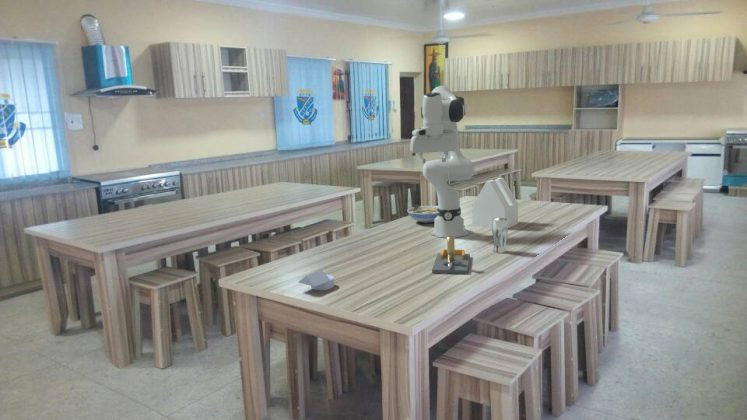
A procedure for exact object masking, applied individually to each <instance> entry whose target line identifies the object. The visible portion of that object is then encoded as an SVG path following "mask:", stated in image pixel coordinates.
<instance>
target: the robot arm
mask: <svg viewBox="0 0 747 420" xmlns="http://www.w3.org/2000/svg"><path fill="white" fill-rule="evenodd" d="M467 109H468V105H467V102H466V99H465V98H464V97H463V96H458V95H456V94H454V93H452V91H451V89H450V88H449V87H448V86H446V85H439V86H436V87H435V88H433V90H432V91H431V92H426V93H425V94H423V98H422V105H421V107H420V116H421V119H423V121H422V126H421V127H420V128H417V129H413V130H412V131H411V134H412V137H411V139H410V142H409V143H410V145H409V147H410V148H409V150H410V152H411V153H412V154H418V158H419V159H421V160H420V163H421V164H423V166H422V175H423V178H424V179H425V180H426V181H428V182H429V183H430V184H431V185H432V186H433V187H434V189H435V192H436V197H437V206H438V208H437V215H438V216H437V217H436V218H435V221H434V230H433V231H431V233H430V235H432V236H436V237H437V238H438V237H439V238H446V239H447V237H448V236H453V237H454V238H459V237H463V236H468V235H469V232H468V231H467V229H466V228H465V220H464V217H463V216H462V215H461V214H462V208H461V198H460V196H461V195H460V192H459V190H457V189H456V188H454V187H452V186H450V185H449V184H448V183H447V182H455V181H457V182H459V181H466V180H470V179H472V178H473V176H474V174H475V165H474V163H473V162H472V160H470V159H469V158H467V157H466V156H464V154H463V152H462V151H461V149H460V143H459V142H460V141H459V139H460V138H459V130H458V124H457V123H460V121H462V120H463V118H464V116H465V115H466V113H467ZM424 153H426V154H428V153H438V154H439V155H440V156H441V159H432V160H428V161H427V160H426V158H424V157H423V156H424Z"/></svg>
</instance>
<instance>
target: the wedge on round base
mask: <svg viewBox="0 0 747 420" xmlns="http://www.w3.org/2000/svg"><path fill="white" fill-rule="evenodd" d="M298 283H299V284H304V285H306V286H310V289H311V290H313V289H314V290H313V291H328V290H331V289H333V288H335V277H334V276H333V275H331V274H327V273H326V272H324V271H323V270H322V269H319V270H317V271H315V272H313V273H310V274H307V275H305V276H304V277H302V278H301V279H300V280H299V281H298Z"/></svg>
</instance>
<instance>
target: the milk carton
mask: <svg viewBox="0 0 747 420" xmlns="http://www.w3.org/2000/svg"><path fill="white" fill-rule="evenodd" d="M471 206H472V209H471V212H472V227H473V226H475V227H481V228H489V229H492V220H493V218H507V221H508V229H510V228H512V227H514V226H517V225H518V223H519V203H518V201H517V199H516V197H515V195H514V194H513V192H512V190H511V189H510V187H509V185H508V183H507V182H506V180H505V178H504V177H498V178H495V179H490V180H486V181H485V183H484V185H483V187H482V188H481V189H480V191H479V193H478V195H477V196H476V199H475V200H474V201H473V204H472V205H471Z"/></svg>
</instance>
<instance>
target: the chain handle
mask: <svg viewBox="0 0 747 420" xmlns="http://www.w3.org/2000/svg"><path fill="white" fill-rule="evenodd" d="M455 243H456V242H455V237H453V236H448V237H447V238H446V247H447V259H444V262H443V264H447V265H448V268H449V269H450V268H451V267H452V265H458V263H459V259H455V250H456V249H455V245H456V244H455Z"/></svg>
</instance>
